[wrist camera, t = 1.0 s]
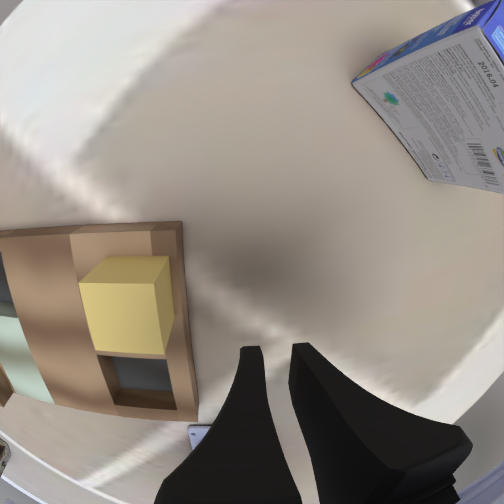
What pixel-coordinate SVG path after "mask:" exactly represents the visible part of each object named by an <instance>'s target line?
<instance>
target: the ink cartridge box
mask: <svg viewBox="0 0 504 504" xmlns="http://www.w3.org/2000/svg"><path fill="white" fill-rule="evenodd" d="M352 84H353V86H354V87H355V88H356V89H357V90H358V91H359V93H360V94H361V95H362V96H363V97H364V98H365V99H366V100H367V101H368V102H369V103H370V105H371V106H372V107H373V108H374V109H375V110H376V111H377V112H378V114H379V115H380V116H381V117H382V118H383V120H384V121H385V122H386V123H387V124H388V126H389V127H390V128H391V129H392V131H393V132H394V133H395V134H396V136H397V137H398V138H399V139H400V141H401V142H402V143H403V145H404V146H405V147H406V149H407V150H408V151H409V153H410V154H411V155H412V157H413V158H414V159H415V161H416V162H417V164H418V165H419V166H420V168H421V169H422V171H423V172H424V174H425V175H426V177H427V178H428V180H430V181H434V182H441V183H448V184H454V185H460V186H466V187H471V188H476V189H481V190H487V191H492V192H496V193H501V194H504V0H493V1H491V2H488V3H486V4H483V5H481V6H479V7H477V8H474V9H472V10H470V11H467V12H465V13H463V14H461V15H459V16H457V17H455V18H452V19H450V20H448V21H446V22H444V23H442V24H440V25H438V26H436V27H434V28H432V29H430V30H428V31H426V32H424V33H422V34H420V35H418V36H416V37H415V38H413V39H411V40H409V41H407V42H405V43H403V44H401V45H399V46H398V47H396V48H394V49H392V50H390V51H387V52H385V53H383V54H382V55H381V56H380V57H378V58H377V59H376V60H375V61H374V62H373V63H372V64H370V65H369V66H368V67H367V68H366V69H365V70H364V71H362V72H361V73H360V74H359V75H358V76H357V77H356V78H355V79H354V80H353V81H352Z"/></svg>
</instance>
